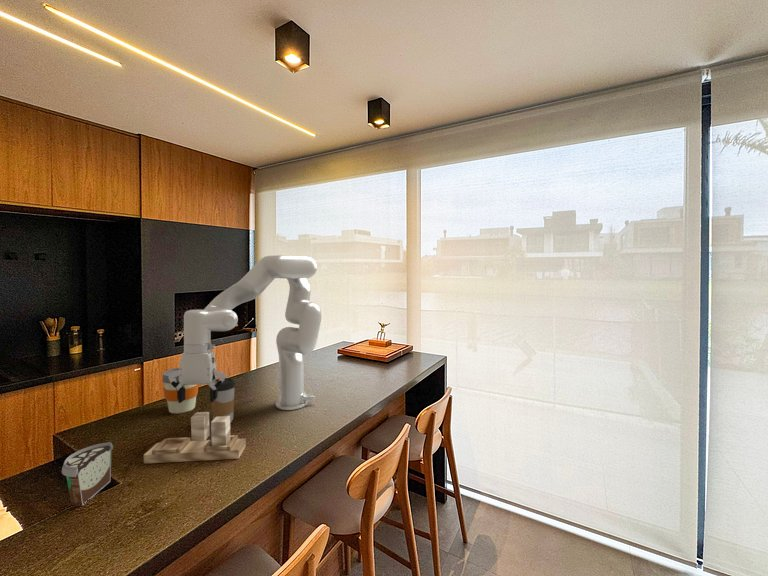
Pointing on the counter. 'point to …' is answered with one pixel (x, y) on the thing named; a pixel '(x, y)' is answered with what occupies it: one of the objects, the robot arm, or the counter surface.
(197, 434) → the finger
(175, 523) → the counter surface
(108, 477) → the food container
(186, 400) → the reusable coffee cup
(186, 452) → the rail
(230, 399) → the coffee cup
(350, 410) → the counter surface
